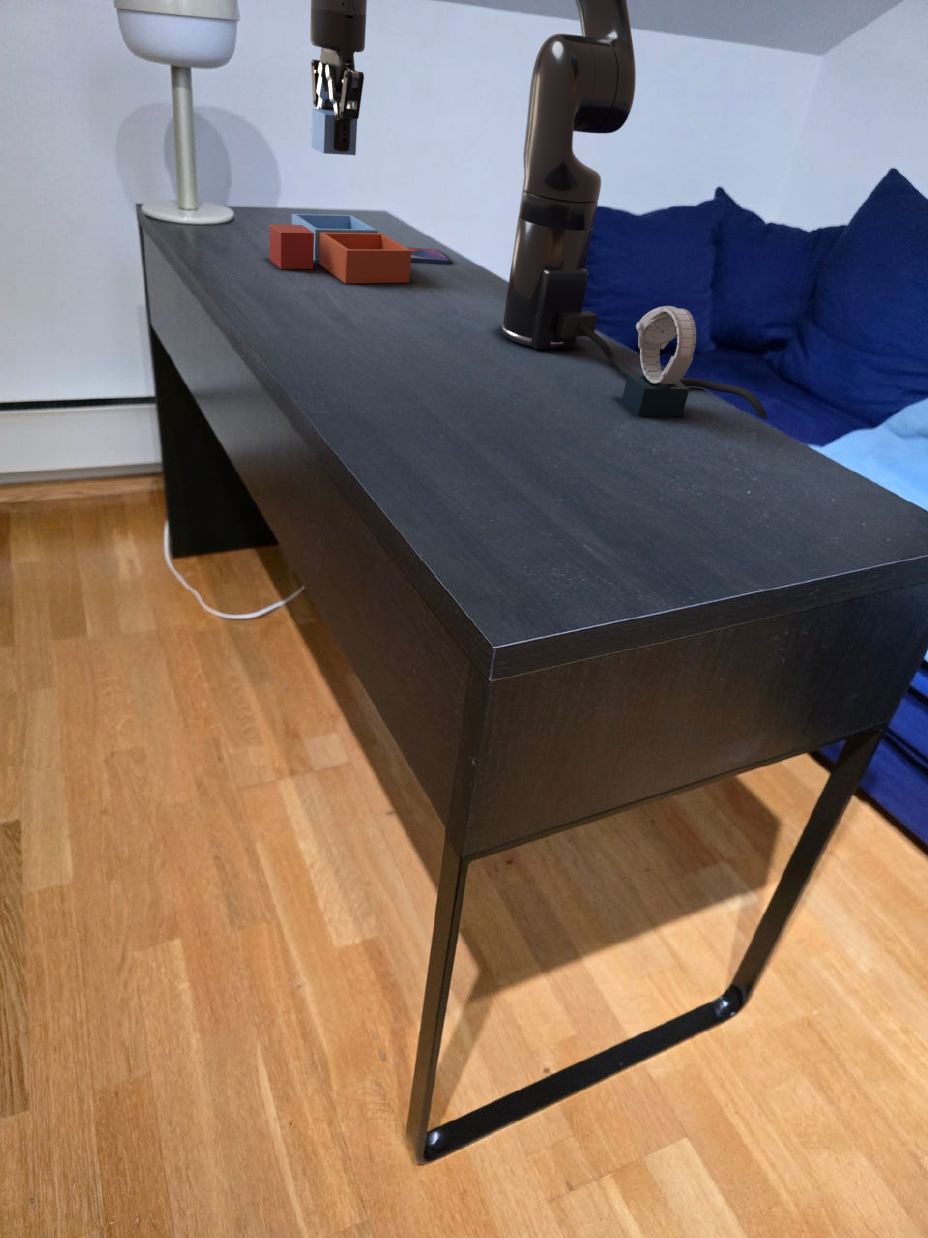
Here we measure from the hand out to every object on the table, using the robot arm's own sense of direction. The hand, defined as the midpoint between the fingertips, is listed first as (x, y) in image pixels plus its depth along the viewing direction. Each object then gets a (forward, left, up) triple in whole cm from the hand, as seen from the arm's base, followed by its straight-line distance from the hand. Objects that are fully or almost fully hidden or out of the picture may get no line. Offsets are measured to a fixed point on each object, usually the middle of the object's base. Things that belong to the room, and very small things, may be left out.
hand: (333, 146), depth 129 cm
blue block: (0, 0, -1) cm, 1 cm away
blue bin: (+2, -1, -15) cm, 15 cm away
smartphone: (0, -12, -16) cm, 20 cm away
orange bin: (-10, -1, -15) cm, 18 cm away
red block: (-5, +8, -15) cm, 18 cm away
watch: (-65, -12, -15) cm, 68 cm away
